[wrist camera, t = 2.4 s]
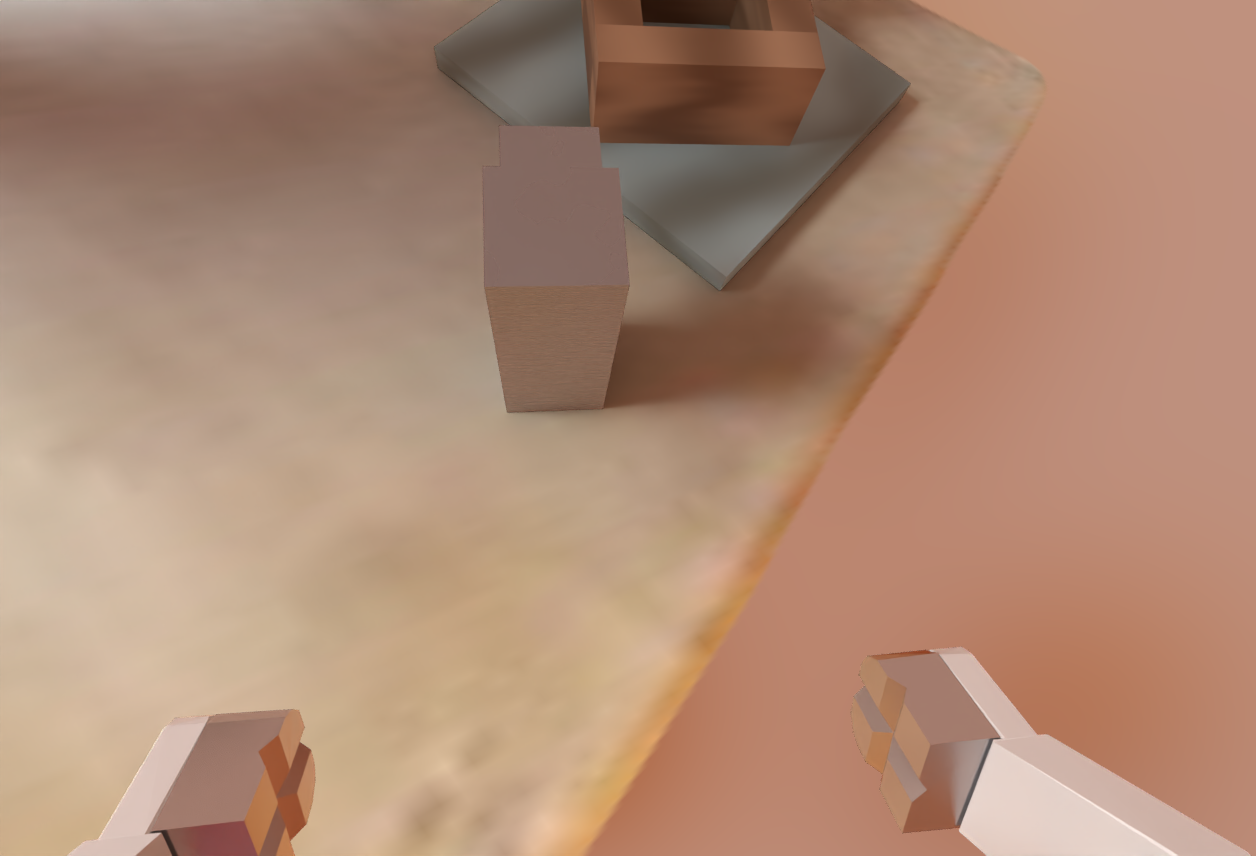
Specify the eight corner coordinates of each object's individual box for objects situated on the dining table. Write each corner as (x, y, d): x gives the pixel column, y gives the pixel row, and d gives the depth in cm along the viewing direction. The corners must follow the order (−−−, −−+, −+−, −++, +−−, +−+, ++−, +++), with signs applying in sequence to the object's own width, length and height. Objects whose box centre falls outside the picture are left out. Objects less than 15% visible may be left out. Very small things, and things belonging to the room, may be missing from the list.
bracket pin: (507, 412, 28) (484, 286, 18) (504, 295, 29) (482, 125, 20) (602, 408, 28) (629, 284, 19) (594, 293, 30) (614, 127, 20)
